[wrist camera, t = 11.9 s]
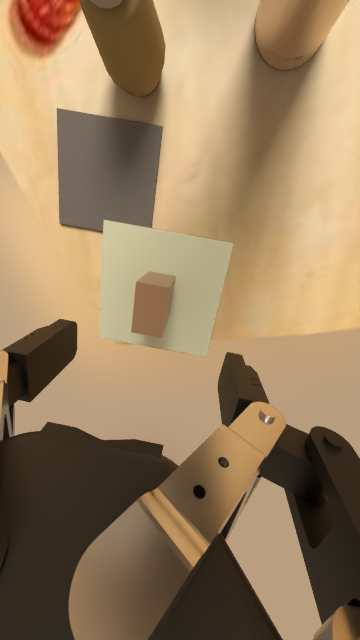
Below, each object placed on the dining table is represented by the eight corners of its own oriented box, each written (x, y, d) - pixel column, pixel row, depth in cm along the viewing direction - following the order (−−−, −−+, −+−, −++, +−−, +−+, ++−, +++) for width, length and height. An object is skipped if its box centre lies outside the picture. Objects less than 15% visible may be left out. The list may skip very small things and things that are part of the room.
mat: (58, 109, 34) (56, 108, 34) (162, 127, 34) (162, 126, 34) (60, 223, 40) (59, 223, 40) (150, 239, 40) (149, 239, 39)
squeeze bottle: (171, 103, 33) (142, -35, 16) (117, 110, 34) (36, -14, 17) (166, 26, 30) (125, -238, 13) (107, 35, 31) (-2, -202, 14)
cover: (107, 220, 25) (74, 215, 18) (232, 242, 25) (244, 245, 18) (101, 333, 30) (75, 361, 23) (205, 353, 30) (208, 386, 23)
